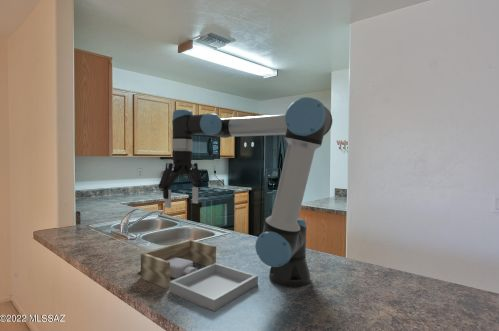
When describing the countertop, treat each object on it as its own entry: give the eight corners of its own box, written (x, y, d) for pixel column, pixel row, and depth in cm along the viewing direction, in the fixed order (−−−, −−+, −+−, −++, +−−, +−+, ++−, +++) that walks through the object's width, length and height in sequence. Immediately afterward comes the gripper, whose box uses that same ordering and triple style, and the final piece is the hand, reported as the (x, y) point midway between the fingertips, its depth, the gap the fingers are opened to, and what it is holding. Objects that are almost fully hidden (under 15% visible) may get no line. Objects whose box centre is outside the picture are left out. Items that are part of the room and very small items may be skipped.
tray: (257, 285, 102) (257, 275, 102) (214, 311, 84) (214, 300, 84) (215, 271, 114) (215, 262, 114) (169, 292, 96) (169, 281, 96)
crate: (215, 267, 118) (216, 245, 118) (166, 288, 99) (167, 262, 99) (190, 259, 128) (190, 239, 127) (140, 277, 108) (140, 253, 108)
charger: (189, 283, 104) (159, 275, 111) (205, 274, 112) (175, 267, 119) (189, 270, 104) (159, 263, 111) (205, 262, 112) (175, 256, 119)
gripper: (199, 151, 124) (199, 200, 124) (148, 149, 104) (148, 208, 104) (212, 151, 119) (211, 202, 120) (161, 149, 99) (161, 210, 100)
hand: (182, 205), depth 112 cm, fingers open, 13 cm apart
